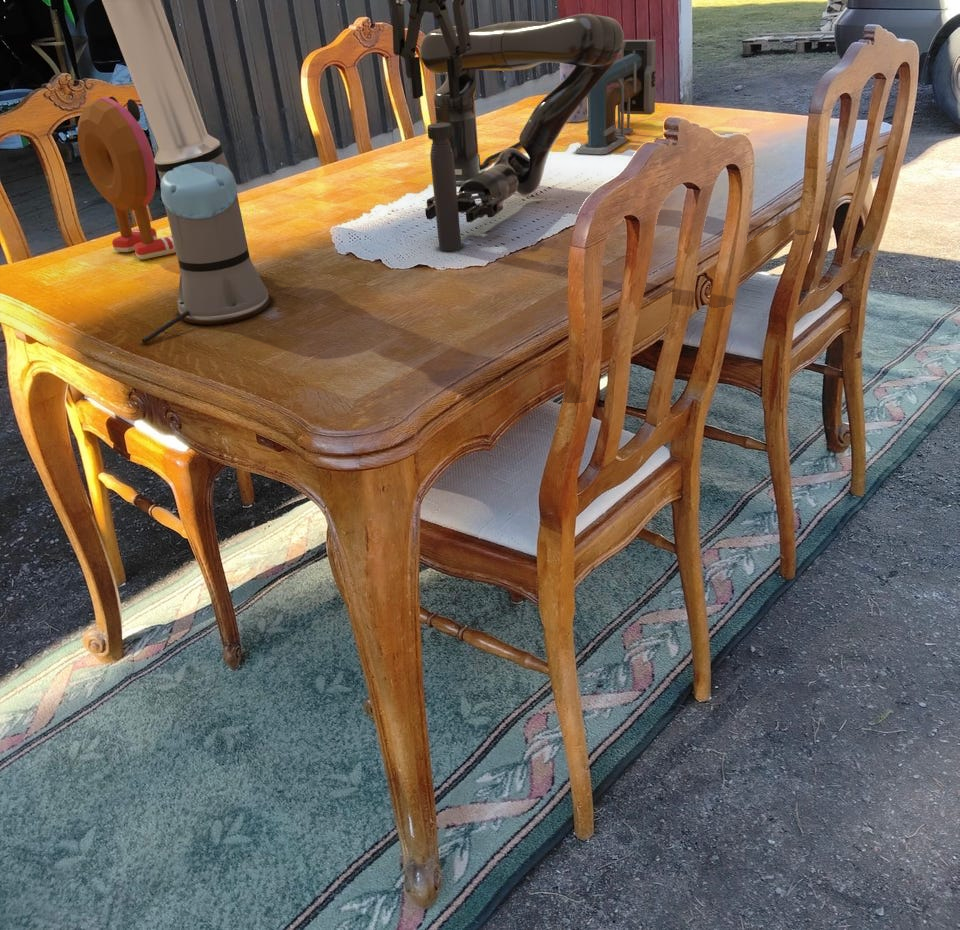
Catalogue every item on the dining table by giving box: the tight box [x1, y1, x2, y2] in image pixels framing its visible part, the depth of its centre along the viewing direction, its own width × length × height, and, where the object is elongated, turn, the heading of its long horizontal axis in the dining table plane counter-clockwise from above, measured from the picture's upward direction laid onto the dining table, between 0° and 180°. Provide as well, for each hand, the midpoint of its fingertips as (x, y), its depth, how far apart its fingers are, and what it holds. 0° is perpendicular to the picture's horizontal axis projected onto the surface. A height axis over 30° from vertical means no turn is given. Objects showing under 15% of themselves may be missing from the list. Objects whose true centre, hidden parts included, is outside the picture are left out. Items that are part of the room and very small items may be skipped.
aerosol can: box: [559, 63, 588, 123], centre depth 273 cm, size 8×8×20 cm
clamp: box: [574, 39, 657, 155], centre depth 249 cm, size 35×9×21 cm, turn 151°
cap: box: [427, 122, 452, 141], centre depth 175 cm, size 4×4×2 cm
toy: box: [77, 96, 176, 260], centre depth 191 cm, size 21×10×30 cm, turn 47°
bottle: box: [429, 138, 462, 253], centre depth 180 cm, size 4×4×22 cm
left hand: (436, 96), depth 172 cm, fingers open, 6 cm apart
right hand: (447, 215), depth 182 cm, fingers open, 8 cm apart
